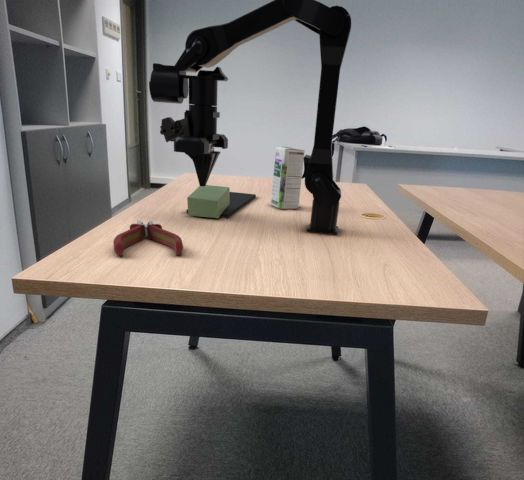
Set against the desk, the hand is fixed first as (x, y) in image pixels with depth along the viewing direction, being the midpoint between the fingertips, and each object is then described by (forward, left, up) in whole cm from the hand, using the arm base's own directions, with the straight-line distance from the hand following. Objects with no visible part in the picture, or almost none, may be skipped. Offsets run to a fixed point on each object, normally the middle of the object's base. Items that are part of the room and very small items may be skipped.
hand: (202, 186), depth 103 cm
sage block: (0, 0, -5) cm, 5 cm away
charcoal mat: (+19, 0, -7) cm, 20 cm away
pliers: (-23, +1, -7) cm, 24 cm away
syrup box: (+24, -15, -7) cm, 29 cm away
